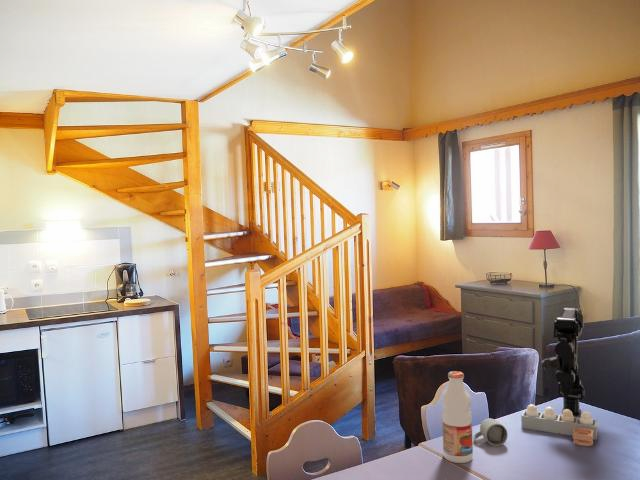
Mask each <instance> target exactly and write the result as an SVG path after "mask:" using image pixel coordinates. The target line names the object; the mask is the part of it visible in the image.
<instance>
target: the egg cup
mask: <svg viewBox="0 0 640 480" xmlns="http://www.w3.org/2000/svg"><path fill="white" fill-rule="evenodd" d="M593 436H594V432H593V430H589V429H583V428H576V427H574V430H573V436H572V439H573V443H574V444H575V445H578V446H581V447H592V446H593V445H594V439H593Z"/></svg>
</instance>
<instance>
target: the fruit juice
mask: <svg viewBox="0 0 640 480" xmlns="http://www.w3.org/2000/svg"><path fill="white" fill-rule="evenodd" d="M447 377H448V381H449V382H448V385H447V387H446V390H445V391H444V392H443V394H442V400H441V401H442V405H443V410H442V414H441V415H442V416H441V417H442V419H441V420H442V454H443V458H444V459H446V460H447V461H448V462H450V463H454V464H466V463H469V462H471V461H472V460H473V458H474V457H473V455H474V453H473V451H474V450H473V449H474V448H473V445H474V444H473V417H472V412H471V408H470V407H471V404H472V400H471V395H470V394H469V392H468V391H467V390H466V388H465V384H464V378H465V374H464V373H463V372H462V371H457V370H453V371H452V370H451V371H449V372H448V373H447Z"/></svg>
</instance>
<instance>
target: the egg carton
mask: <svg viewBox="0 0 640 480" xmlns="http://www.w3.org/2000/svg"><path fill="white" fill-rule="evenodd" d="M562 410H563V409H562ZM543 414H544V412H542V411H538V408H537V405H535V404H531V403H530V404H529V405H528V406H527V407H526V409H523V412H522V414H521V416H520V417H521V429H528V430H532V431H533V430H535V431H539V432H548V433H553V434H559V433H560V434H561V435H565V434H566V435H565V436H571V435H572V437H573V430H574V427H576V428H583V429H589V430H593V432H594V436H593V440H597V439H598V419H593V418H592V414H591V413H590V412H589V411H582V412H581V414H580V416H574V415H573V413H572V411H571V410H569V409H565V410H563V412H562V411H561V414H556V413H555V414H556V420H551V419H545V418H544V417H543Z"/></svg>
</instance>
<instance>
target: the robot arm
mask: <svg viewBox="0 0 640 480" xmlns="http://www.w3.org/2000/svg"><path fill="white" fill-rule="evenodd" d="M584 328H585V321H584V315H583V314H582V313H580V311H579V310H578V308H576V307H564V308H563V311H562V313H561V314H560V316H558V317H556V320H554V324H553V338H555V339H556V338H557V343H556V344H555V347H554V352H555V353H554V354H556V356H552V357H548V358H544V359H542V360H541V364H542V368H543V369H544V371H548V370H551V369H555V368H556V371H555V374H554V379H555V380H556V382H558V397H559V398H562V399H563V407H562V410H561V413H562V412H563V410H565V409H569V410H571V411H572V413H573V416H574V417H581V414H582V409H580V400H581V401H583V400H585V399H586V393H585V388H584V386H583V384H582V382H581V379H580V377H579V375H578V372H579V371H578V370H579V364H578V339H579V338H580V336H581V335H582V334H583V329H584Z"/></svg>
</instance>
